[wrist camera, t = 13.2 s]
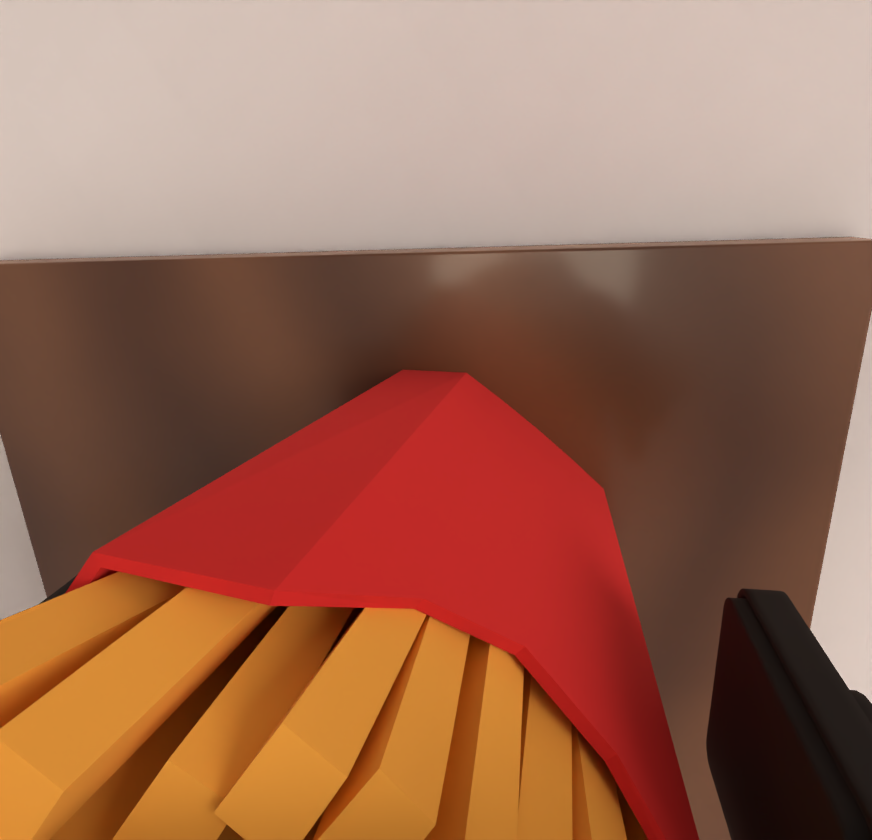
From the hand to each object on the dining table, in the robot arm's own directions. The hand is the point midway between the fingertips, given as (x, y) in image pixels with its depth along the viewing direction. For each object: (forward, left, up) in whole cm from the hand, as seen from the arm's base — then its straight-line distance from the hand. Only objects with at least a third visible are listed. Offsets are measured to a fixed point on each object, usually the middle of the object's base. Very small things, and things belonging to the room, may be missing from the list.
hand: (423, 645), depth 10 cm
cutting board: (-3, -3, -7) cm, 8 cm away
